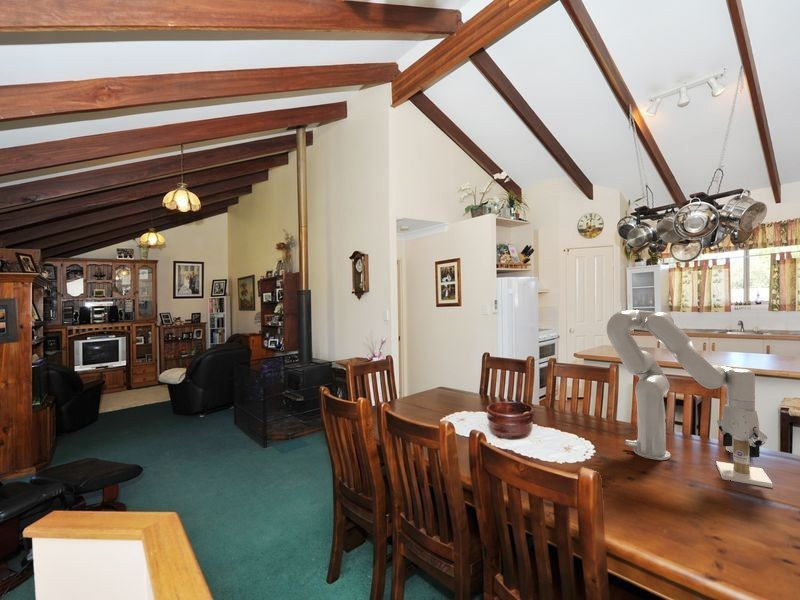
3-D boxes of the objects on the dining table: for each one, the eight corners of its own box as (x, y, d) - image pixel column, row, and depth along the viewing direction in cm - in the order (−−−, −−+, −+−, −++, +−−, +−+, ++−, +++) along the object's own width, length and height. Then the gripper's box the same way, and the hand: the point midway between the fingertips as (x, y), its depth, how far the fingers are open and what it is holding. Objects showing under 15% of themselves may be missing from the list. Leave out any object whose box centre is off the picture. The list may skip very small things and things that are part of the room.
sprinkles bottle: (733, 471, 138) (732, 434, 138) (733, 467, 141) (732, 430, 141) (750, 475, 135) (749, 436, 135) (750, 470, 138) (749, 433, 138)
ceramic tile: (722, 479, 136) (722, 474, 136) (716, 465, 147) (716, 461, 147) (772, 487, 129) (772, 483, 129) (762, 472, 140) (762, 468, 140)
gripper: (709, 397, 146) (709, 442, 146) (756, 411, 129) (755, 462, 129) (727, 396, 147) (727, 441, 147) (776, 410, 130) (775, 461, 130)
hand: (740, 451), depth 138 cm, fingers open, 9 cm apart
